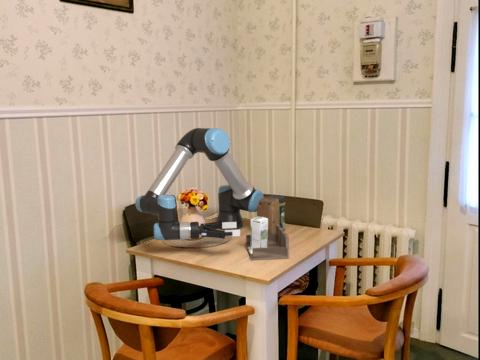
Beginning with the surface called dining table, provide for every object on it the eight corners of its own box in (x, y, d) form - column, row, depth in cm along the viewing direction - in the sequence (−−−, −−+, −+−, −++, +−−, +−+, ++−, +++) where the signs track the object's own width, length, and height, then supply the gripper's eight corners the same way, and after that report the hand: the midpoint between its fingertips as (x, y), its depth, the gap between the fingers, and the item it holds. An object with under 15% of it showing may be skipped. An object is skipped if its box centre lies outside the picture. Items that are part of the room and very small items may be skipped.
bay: (245, 245, 211) (244, 225, 209) (278, 243, 213) (278, 224, 211) (251, 260, 189) (251, 238, 188) (288, 258, 191) (288, 237, 190)
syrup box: (257, 246, 204) (257, 215, 202) (268, 249, 201) (268, 217, 199) (249, 249, 200) (249, 218, 198) (260, 252, 196) (260, 220, 194)
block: (280, 237, 224) (281, 198, 221) (272, 240, 218) (272, 200, 215) (262, 233, 230) (263, 195, 227) (254, 237, 224) (254, 198, 221)
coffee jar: (264, 229, 238) (264, 195, 235) (271, 226, 245) (271, 193, 242) (280, 232, 233) (280, 197, 230) (287, 229, 239) (287, 195, 236)
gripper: (189, 231, 208) (235, 229, 211) (190, 247, 184) (241, 245, 186) (189, 215, 207) (234, 214, 209) (190, 229, 182) (241, 227, 185)
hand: (238, 228), depth 198 cm, fingers open, 13 cm apart
